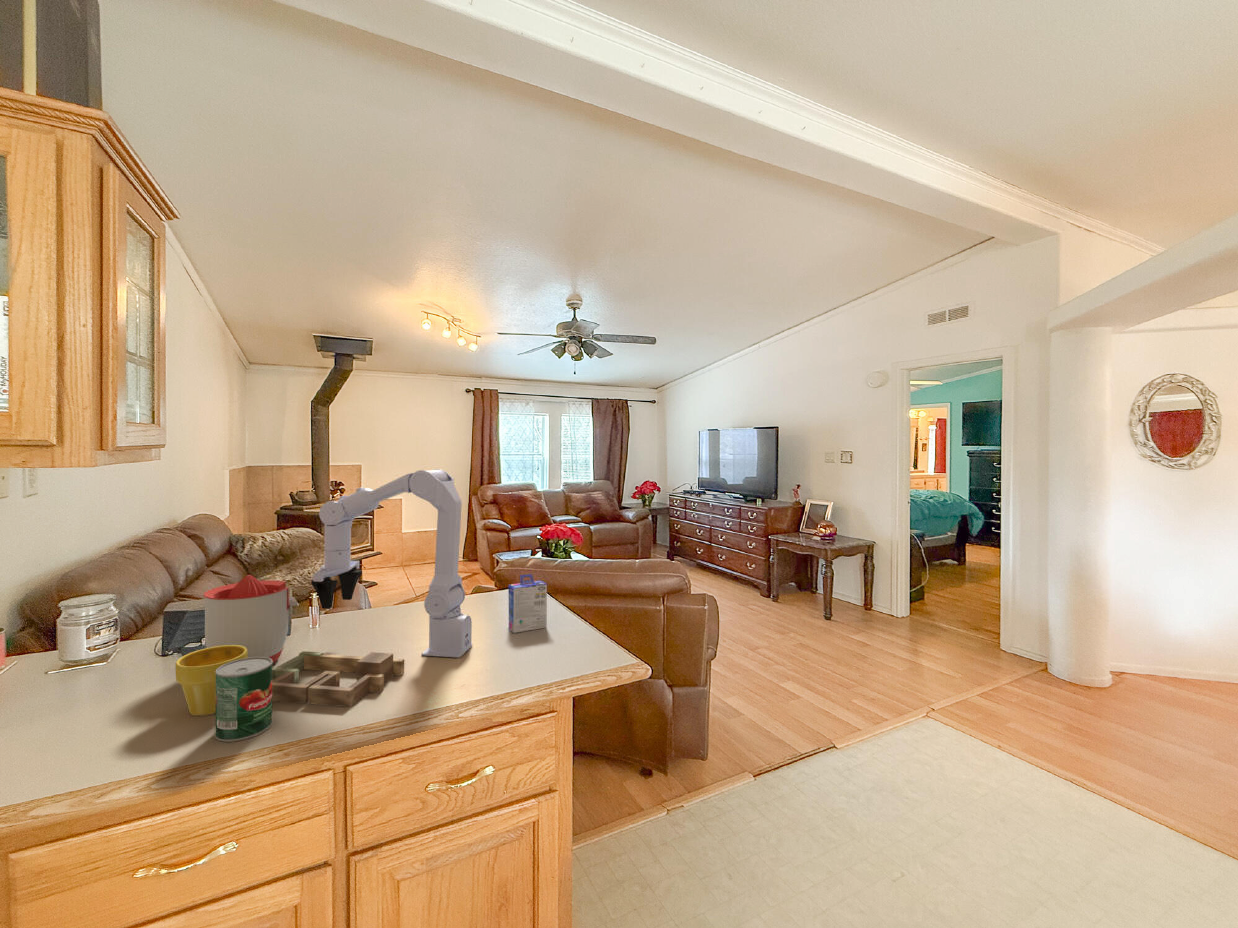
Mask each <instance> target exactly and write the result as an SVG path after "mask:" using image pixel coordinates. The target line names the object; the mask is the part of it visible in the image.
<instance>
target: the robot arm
mask: <svg viewBox="0 0 1238 928" xmlns="http://www.w3.org/2000/svg"><path fill="white" fill-rule="evenodd" d="M404 493H407V494H410V493H411V494H413V495H414V496H416V497H418V498H419V499H420V498H421V499H422V500H425V501H426V502H429V504H431V505H432V506H433V507H434V508H435V509H436V510H437V518H436V519H437V522H436V523H437V524H436V538H435V539H436V541H435V542H436V543H435V558H434V560H435V561H434V575H433V577H432V580H431V582H430V584H429V586H428V594H427V595H426V596H425V599H424V602H423V604H424V609H425V612H426V613H427V614H428V616H429V617H428V618H429V620H428V623H429V624H428V625H429V626H428V631H429V632H428V647H427V649H425V650H424V651H422V653H421V656H428V657H444V658H461V657H462V656H464V654H465V653H466V652H468V650H469V649H471V647H473V643H472V631H473V630H472V627H473V625H472V624H473V622H472V617H471V616H470V615H468V614H464V613H462V609H461V605H462V604H463V602H464V601H465V597H466V591H465V588H464V586H463V578H462V577H461V575H459V561H460V560H459V559H460V558H459V557H460V540H461V538H460V537H461V524H462V523H461V521H462V504H463V503H462V499H461V497H460V495H459V492H458V490H457V488H456V487H455V479H454V478H453V476H451V475H450V474H449V473H448V472H446V471H445V470H443V469H440V468H439V469H438V468H437V469H432V470H424V469H420V470H416V471H415V472H409V473H406V474H404V475H402V476H400V477H398V478H396V479H393V480H392V481H389V482H387V483H385V484H383V485H380V486H379V487H377V488H375V489H372V488H369V487H358V488H356V489H355V492H352V493H351V494H349V495H341V496H339V499H338V500H335V501H333V500H329V501H328V500H327V501H326V502H325V503H324V504H322V506H320V509H319V512H318V515H319V518H320V521H321V522H322V523H323V524H324V546H323V547H324V551H323V552H324V558H323V559H324V564H323V566H320V569H319V570H317V571H316V572H313V573H312V575H313V576H312V580H311V581H310V585H311V586H312V587H313V588H314V590H315V592H316V594H317V596H318V599H319V603H320V607H321V609H324V610H328V609H329V610H331V609H332V608H333V604H334V603H333V602H334V595H335V590H336V587H337V584H338V580H335V579H334V580H333V579H332V577H336V576H337V577H338V579H339V583H340V587H341V589H340V590H341V599H342V600H344V601H346V600H347V601H351V600H353V597H354V596H353V595H354V592H355V588H356V585H357V583H358V581H359V579H360V577H361V575H362V574H363V572H362V571H363V570H362V569H360V560H352V559H351V558H352V556H351V555H352V553H351V552H352V551H351V550H352V545H351V544H352V527H353V521H354V520H356V518H358V517H361V516H362V515H365V514H367V513H369V512H372V511H374V510H377V509H378V508H379V505H380V502H382V501H385V500H388V499H390V498H393V497H396V496H398V495H401V494H404Z"/></svg>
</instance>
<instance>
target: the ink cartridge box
mask: <svg viewBox="0 0 1238 928" xmlns="http://www.w3.org/2000/svg"><path fill="white" fill-rule="evenodd" d="M519 578H520V579H519V581H520V582H519V583H511V584H508V586H507V587H508V590H507V591H508V629H509V630H510V631H511V632H512V633H513V634H515V633H520V632H521V633H522V632H526V631H527V632H528V631H532V630H539V629H545V628H547V627H548V626H547V625H548V621H547V620H548V618H547V616H548V615H547V614H548V613H547V611H548V609H547V608H548V605H547V604H548V602H547V601H548V595H547V594H548V584H547V583H546V582H544V581H542V580H534V577H533V573H528V574H520V575H519ZM525 578H530V579H525Z"/></svg>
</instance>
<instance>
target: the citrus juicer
mask: <svg viewBox="0 0 1238 928" xmlns="http://www.w3.org/2000/svg"><path fill="white" fill-rule="evenodd" d="M286 583H287V582H286V581H283V580H275V579H274V580H273V579H272V580H271V579H269V580H268V579H267V580H266V579H265V580H259V579H258V578H256V577H254V576H253V575H251V574H247V575H246V576H244V577H243V578H242V579H241V580H240V581H238V582H236V583H229V584H226V585H225V584H224V585H220V586H216V587H214V588H211V589H208V590H206V591H205V592H204V593H203V597H204V641H205V645H206V647H205V648H210V647H215V646H223V645H240V646H244V647H246V648H247V651H248V658H250V657H268V658H271V659H272V661H273V663H272V664H274V663H275V662H277V661H278V660H279V658H280V657H281V654H282V652H283V650H284V647H285V646H284V645H285V642H286V640H287V635H288V631H289V609H290V607H299V603H298V601H297V600H296V598H295V597H293V596H291V595H289V593H290V592H289V586H287V584H286Z"/></svg>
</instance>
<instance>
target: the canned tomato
mask: <svg viewBox="0 0 1238 928" xmlns="http://www.w3.org/2000/svg"><path fill="white" fill-rule="evenodd" d="M273 664H274V663H273V661H272V659H271V658H268V657H250V658H244V659H239V660H235V661H232V662H229V663H226V664H224V665H222V666H220V667H219V668H218V669H216V671H215V674H216V691H215V692H216V696H215V697H216V700H215V702H216V705H215V707H216V710H215V712H216V713H214V714H215V734H214V737H215V740H217V741H219V742H223V743H231V742H232V743H234V742H239V741H244V740H247V739H251V738H253V737H256V736H258V735H260V734H262V733H265V732H266V731H267V730H268V729H270V728H271V726H272V725H273V701H272V672H273V671H272V669H273Z"/></svg>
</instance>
